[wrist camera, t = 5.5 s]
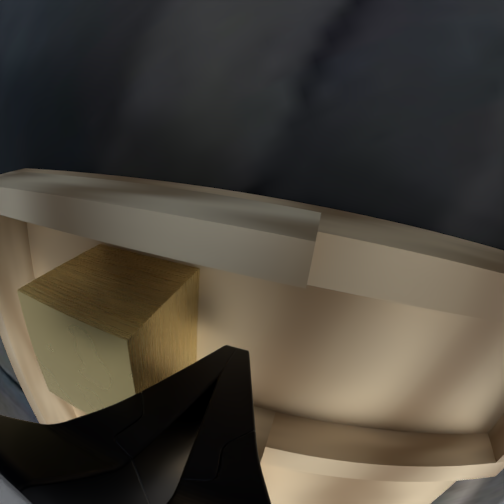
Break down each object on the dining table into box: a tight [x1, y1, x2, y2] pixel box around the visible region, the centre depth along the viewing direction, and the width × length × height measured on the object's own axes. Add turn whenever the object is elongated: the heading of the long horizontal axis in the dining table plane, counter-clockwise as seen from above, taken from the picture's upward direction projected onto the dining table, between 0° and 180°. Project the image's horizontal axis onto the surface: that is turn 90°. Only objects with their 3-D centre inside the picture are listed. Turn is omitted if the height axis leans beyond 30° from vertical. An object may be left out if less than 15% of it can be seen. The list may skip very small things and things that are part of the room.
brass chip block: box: [17, 244, 200, 414], centre depth 9 cm, size 4×4×4 cm
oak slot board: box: [0, 168, 504, 504], centre depth 11 cm, size 24×20×3 cm
